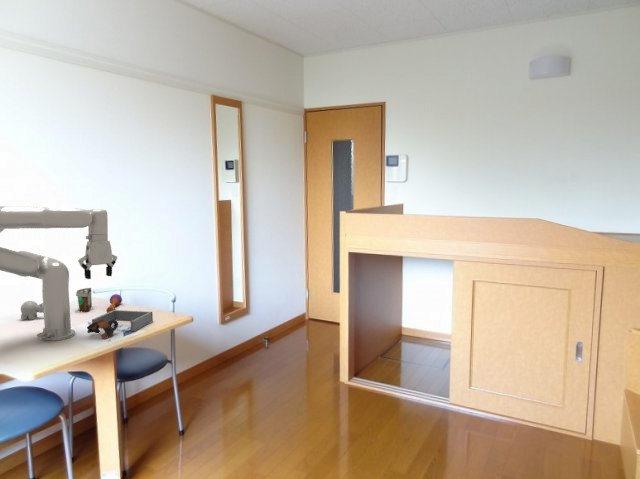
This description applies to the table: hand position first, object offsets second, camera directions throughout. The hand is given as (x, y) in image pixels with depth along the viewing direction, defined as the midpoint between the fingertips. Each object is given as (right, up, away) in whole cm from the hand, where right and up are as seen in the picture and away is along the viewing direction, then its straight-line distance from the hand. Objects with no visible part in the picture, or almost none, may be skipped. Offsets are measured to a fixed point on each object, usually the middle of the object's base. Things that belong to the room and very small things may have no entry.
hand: (98, 277), depth 206 cm
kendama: (-9, -19, +37) cm, 42 cm away
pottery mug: (+6, -24, -8) cm, 26 cm away
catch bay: (+8, -22, +6) cm, 24 cm away
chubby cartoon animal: (-38, -21, +18) cm, 47 cm away
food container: (-23, -19, +34) cm, 45 cm away
